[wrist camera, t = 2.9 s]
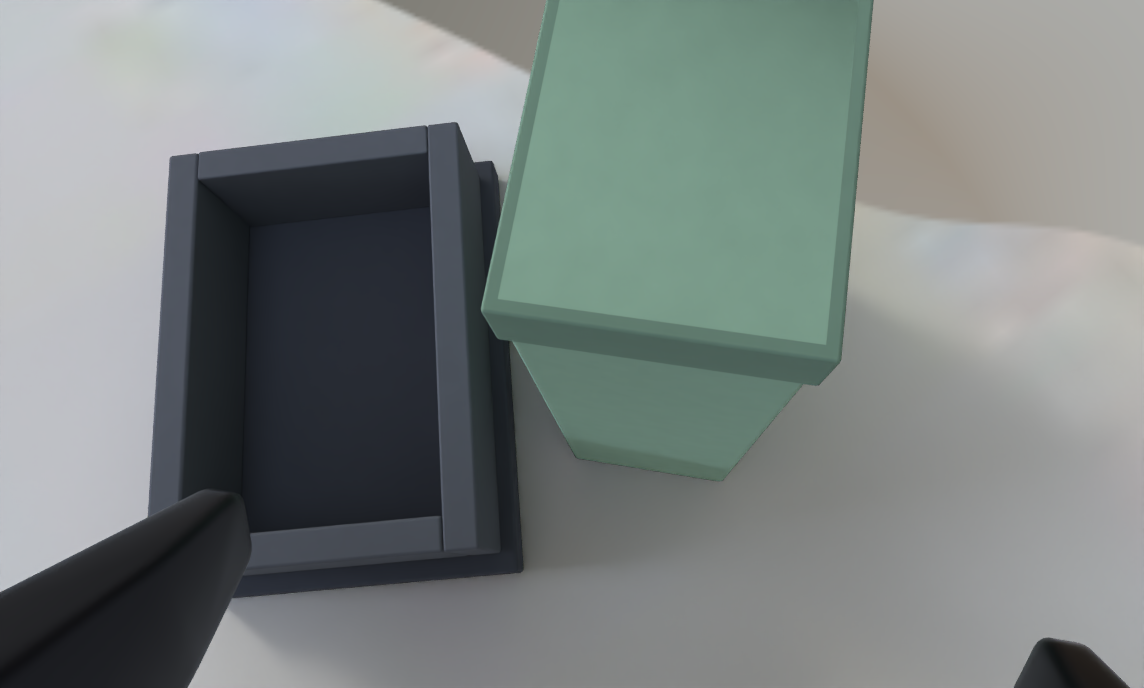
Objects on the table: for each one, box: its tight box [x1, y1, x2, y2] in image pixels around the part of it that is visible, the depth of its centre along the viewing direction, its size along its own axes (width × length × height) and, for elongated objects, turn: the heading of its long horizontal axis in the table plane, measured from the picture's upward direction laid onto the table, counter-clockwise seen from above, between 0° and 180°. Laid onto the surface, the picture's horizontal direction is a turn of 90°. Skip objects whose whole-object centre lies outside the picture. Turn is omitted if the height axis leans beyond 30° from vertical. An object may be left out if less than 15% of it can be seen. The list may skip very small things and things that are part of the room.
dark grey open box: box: [148, 122, 523, 598], centre depth 21 cm, size 12×8×4 cm
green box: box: [481, 0, 873, 481], centre depth 17 cm, size 7×4×13 cm, turn 170°
